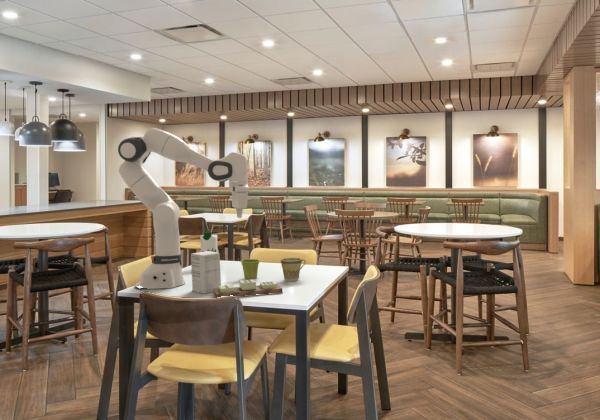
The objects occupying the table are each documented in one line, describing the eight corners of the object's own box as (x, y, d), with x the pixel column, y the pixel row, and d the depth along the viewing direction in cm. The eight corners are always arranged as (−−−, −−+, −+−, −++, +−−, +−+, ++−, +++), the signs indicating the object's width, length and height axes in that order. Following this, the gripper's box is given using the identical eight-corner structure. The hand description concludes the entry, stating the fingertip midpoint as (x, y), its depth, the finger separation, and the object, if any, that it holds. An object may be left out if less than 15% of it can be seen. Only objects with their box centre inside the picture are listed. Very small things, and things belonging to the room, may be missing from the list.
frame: (216, 298, 205) (216, 293, 205) (213, 293, 215) (213, 289, 215) (282, 292, 214) (282, 288, 213) (276, 288, 223) (276, 283, 223)
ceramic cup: (287, 282, 234) (287, 261, 234) (277, 279, 243) (277, 259, 242) (311, 279, 241) (310, 259, 240) (300, 276, 249) (300, 256, 249)
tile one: (220, 295, 208) (220, 288, 208) (218, 292, 213) (218, 285, 213) (235, 294, 210) (234, 287, 209) (232, 291, 215) (232, 284, 215)
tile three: (263, 292, 213) (262, 284, 213) (259, 289, 219) (259, 282, 219) (276, 290, 215) (276, 283, 215) (273, 288, 221) (273, 281, 220)
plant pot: (257, 280, 242) (256, 262, 241) (238, 279, 244) (238, 262, 243) (262, 276, 251) (262, 259, 251) (244, 276, 253) (244, 259, 253)
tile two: (242, 290, 210) (241, 282, 210) (239, 287, 216) (239, 280, 216) (256, 289, 212) (255, 281, 212) (253, 286, 218) (252, 279, 218)
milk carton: (199, 268, 277) (198, 232, 276) (205, 265, 286) (204, 230, 285) (214, 268, 276) (213, 232, 275) (219, 265, 285) (218, 230, 284)
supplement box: (209, 287, 228) (208, 250, 227) (221, 290, 222) (220, 252, 221) (191, 290, 221) (190, 253, 220) (203, 293, 215) (202, 255, 214)
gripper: (228, 187, 240) (229, 216, 241) (235, 188, 221) (236, 219, 222) (241, 187, 242) (241, 215, 243) (249, 187, 223) (250, 218, 223)
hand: (239, 217), depth 232 cm, fingers closed
